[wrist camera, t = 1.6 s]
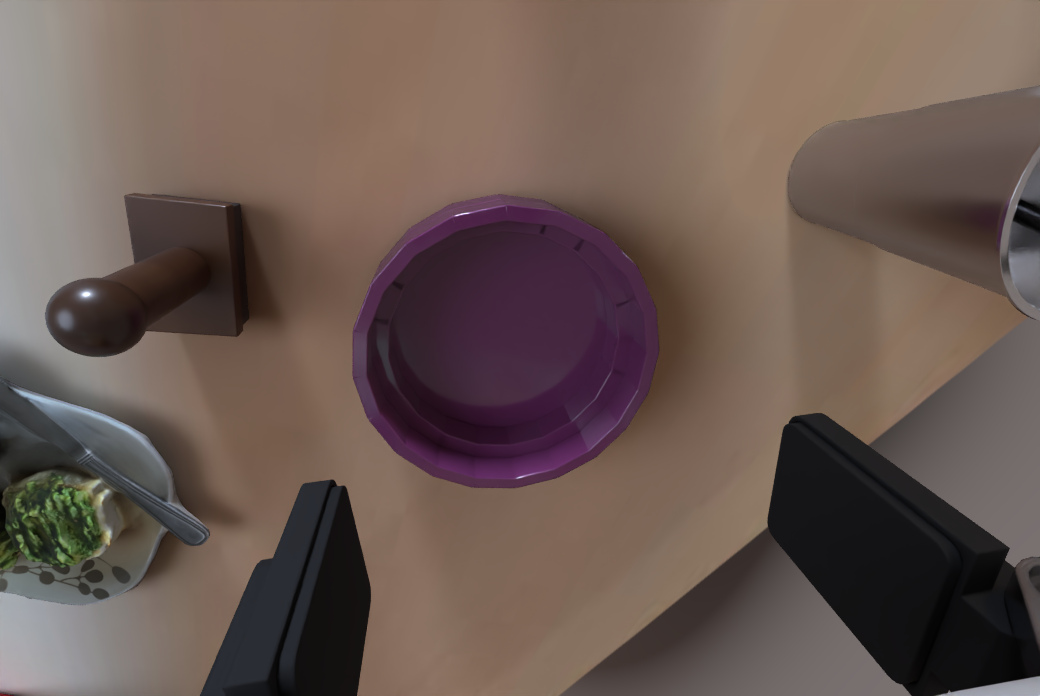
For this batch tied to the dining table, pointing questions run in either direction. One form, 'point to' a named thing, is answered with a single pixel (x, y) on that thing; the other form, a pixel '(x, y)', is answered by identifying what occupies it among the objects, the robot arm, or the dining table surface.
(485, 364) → the bowl
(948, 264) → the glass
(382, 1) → the dining table surface
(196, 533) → the salad plate
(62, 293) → the wall coat peg
